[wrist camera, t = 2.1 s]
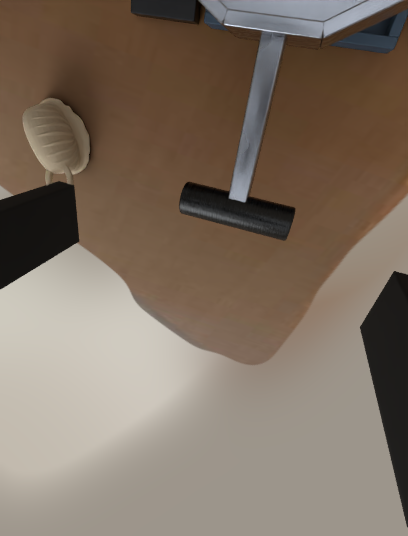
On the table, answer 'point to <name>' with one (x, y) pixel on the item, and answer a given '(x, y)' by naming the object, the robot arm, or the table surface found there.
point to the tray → (357, 34)
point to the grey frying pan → (262, 92)
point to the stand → (168, 10)
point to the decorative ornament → (57, 138)
